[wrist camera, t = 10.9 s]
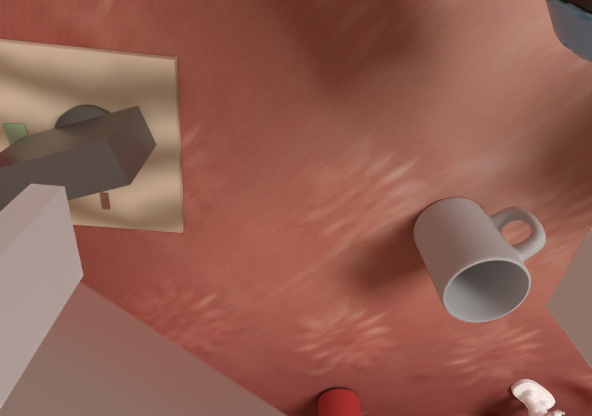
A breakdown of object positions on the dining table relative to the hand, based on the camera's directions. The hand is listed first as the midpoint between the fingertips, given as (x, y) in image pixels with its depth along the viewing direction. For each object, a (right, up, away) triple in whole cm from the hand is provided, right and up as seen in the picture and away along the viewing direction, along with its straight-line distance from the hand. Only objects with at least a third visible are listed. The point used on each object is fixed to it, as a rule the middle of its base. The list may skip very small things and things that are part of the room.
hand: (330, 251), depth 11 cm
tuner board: (-22, +8, +32) cm, 40 cm away
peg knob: (-22, +8, +30) cm, 38 cm away
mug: (+18, 0, +38) cm, 42 cm away
